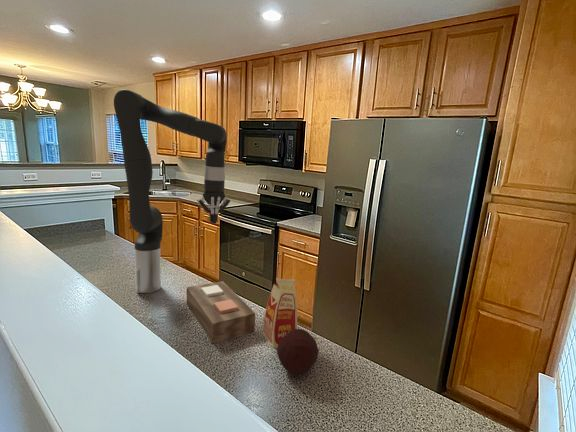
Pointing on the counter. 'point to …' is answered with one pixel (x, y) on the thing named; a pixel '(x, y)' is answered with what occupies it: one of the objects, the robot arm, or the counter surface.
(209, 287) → the cream square block
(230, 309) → the salmon pink block
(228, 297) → the block
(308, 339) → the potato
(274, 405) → the counter surface
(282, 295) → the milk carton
